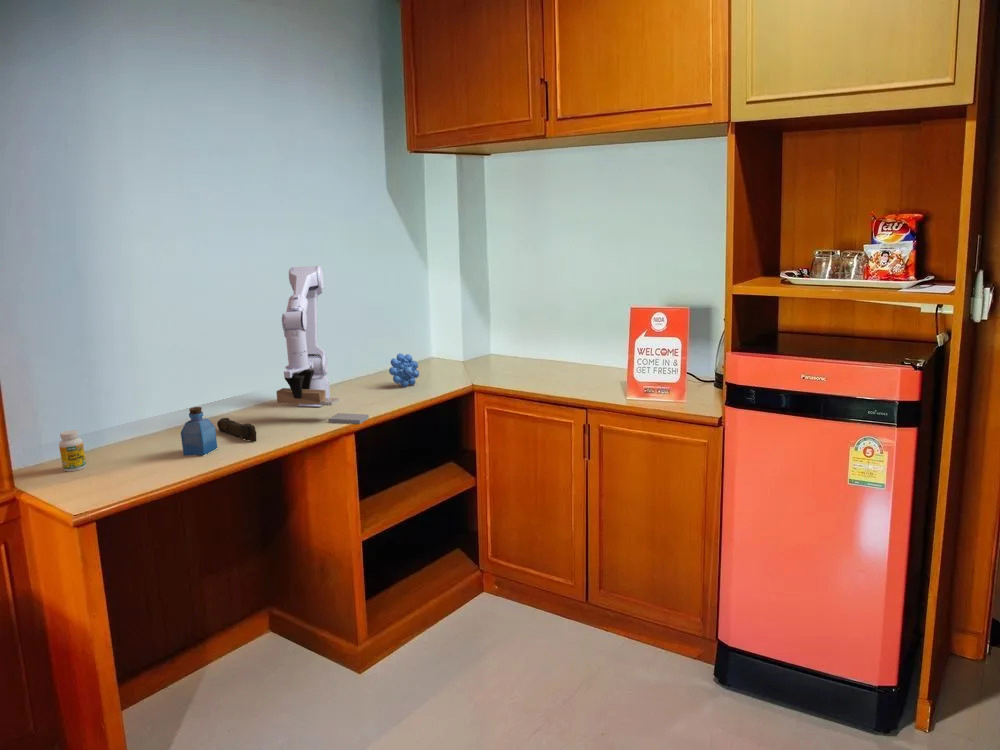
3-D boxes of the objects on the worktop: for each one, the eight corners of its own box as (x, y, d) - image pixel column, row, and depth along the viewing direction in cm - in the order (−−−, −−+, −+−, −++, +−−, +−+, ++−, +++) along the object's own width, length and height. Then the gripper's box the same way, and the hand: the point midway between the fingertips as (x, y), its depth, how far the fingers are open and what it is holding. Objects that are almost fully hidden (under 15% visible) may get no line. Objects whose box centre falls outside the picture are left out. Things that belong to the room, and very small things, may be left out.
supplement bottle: (81, 463, 213) (75, 428, 211) (90, 467, 209) (84, 431, 207) (59, 469, 209) (53, 433, 207) (68, 473, 206) (62, 436, 203)
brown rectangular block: (284, 398, 251) (283, 387, 250) (339, 401, 246) (338, 390, 245) (276, 403, 246) (275, 391, 245) (331, 405, 241) (331, 394, 241)
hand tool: (217, 432, 238) (215, 416, 237) (230, 429, 241) (229, 413, 239) (246, 445, 224) (244, 429, 223) (260, 442, 227) (258, 425, 226)
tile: (338, 413, 248) (368, 414, 245) (338, 418, 248) (368, 419, 245) (328, 418, 242) (359, 420, 239) (329, 424, 242) (360, 425, 240)
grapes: (397, 392, 277) (395, 357, 274) (387, 388, 282) (384, 354, 279) (426, 386, 284) (424, 351, 281) (415, 383, 289) (413, 349, 286)
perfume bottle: (217, 448, 221) (212, 405, 218) (204, 456, 215) (199, 411, 213) (197, 448, 222) (191, 405, 220) (183, 455, 216) (177, 411, 214)
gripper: (296, 346, 251) (301, 390, 254) (272, 356, 237) (277, 402, 240) (318, 347, 249) (321, 390, 252) (294, 356, 236) (299, 402, 238)
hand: (301, 396), depth 246 cm, fingers closed on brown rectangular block, 4 cm apart
